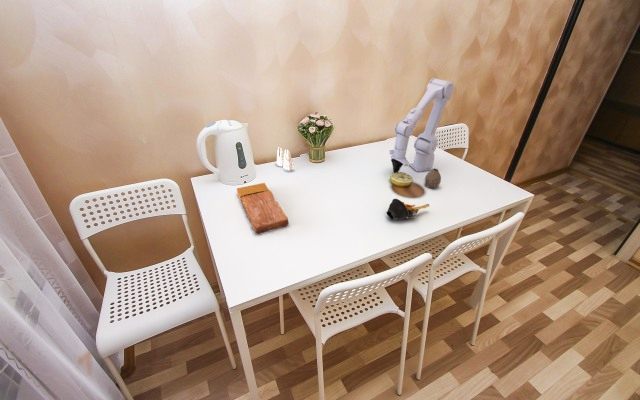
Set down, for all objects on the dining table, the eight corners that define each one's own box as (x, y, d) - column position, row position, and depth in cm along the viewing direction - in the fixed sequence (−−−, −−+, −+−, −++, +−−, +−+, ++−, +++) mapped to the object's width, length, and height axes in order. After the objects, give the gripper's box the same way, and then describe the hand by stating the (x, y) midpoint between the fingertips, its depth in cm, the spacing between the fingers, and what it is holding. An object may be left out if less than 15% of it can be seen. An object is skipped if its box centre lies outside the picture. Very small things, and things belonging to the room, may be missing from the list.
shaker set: (295, 171, 146) (294, 151, 140) (288, 173, 144) (287, 153, 138) (282, 162, 154) (281, 143, 148) (275, 164, 152) (274, 144, 145)
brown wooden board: (265, 188, 132) (265, 181, 130) (289, 226, 110) (289, 219, 108) (237, 194, 127) (236, 187, 125) (255, 235, 105) (254, 228, 103)
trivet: (412, 179, 143) (412, 179, 143) (430, 195, 131) (431, 195, 131) (385, 183, 139) (385, 183, 139) (402, 200, 127) (402, 199, 127)
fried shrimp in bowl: (378, 204, 116) (411, 181, 120) (388, 226, 120) (420, 203, 124) (393, 208, 107) (427, 184, 112) (403, 232, 111) (436, 207, 116)
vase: (436, 191, 134) (441, 174, 129) (421, 186, 137) (426, 170, 132) (440, 185, 139) (445, 168, 134) (425, 180, 142) (430, 164, 137)
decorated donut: (415, 182, 140) (417, 176, 138) (404, 190, 134) (405, 183, 132) (397, 175, 146) (398, 168, 144) (385, 182, 140) (386, 175, 138)
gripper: (385, 142, 141) (381, 167, 148) (401, 154, 129) (395, 181, 137) (398, 141, 142) (393, 165, 150) (414, 153, 131) (408, 179, 139)
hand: (395, 172), depth 144 cm, fingers closed
